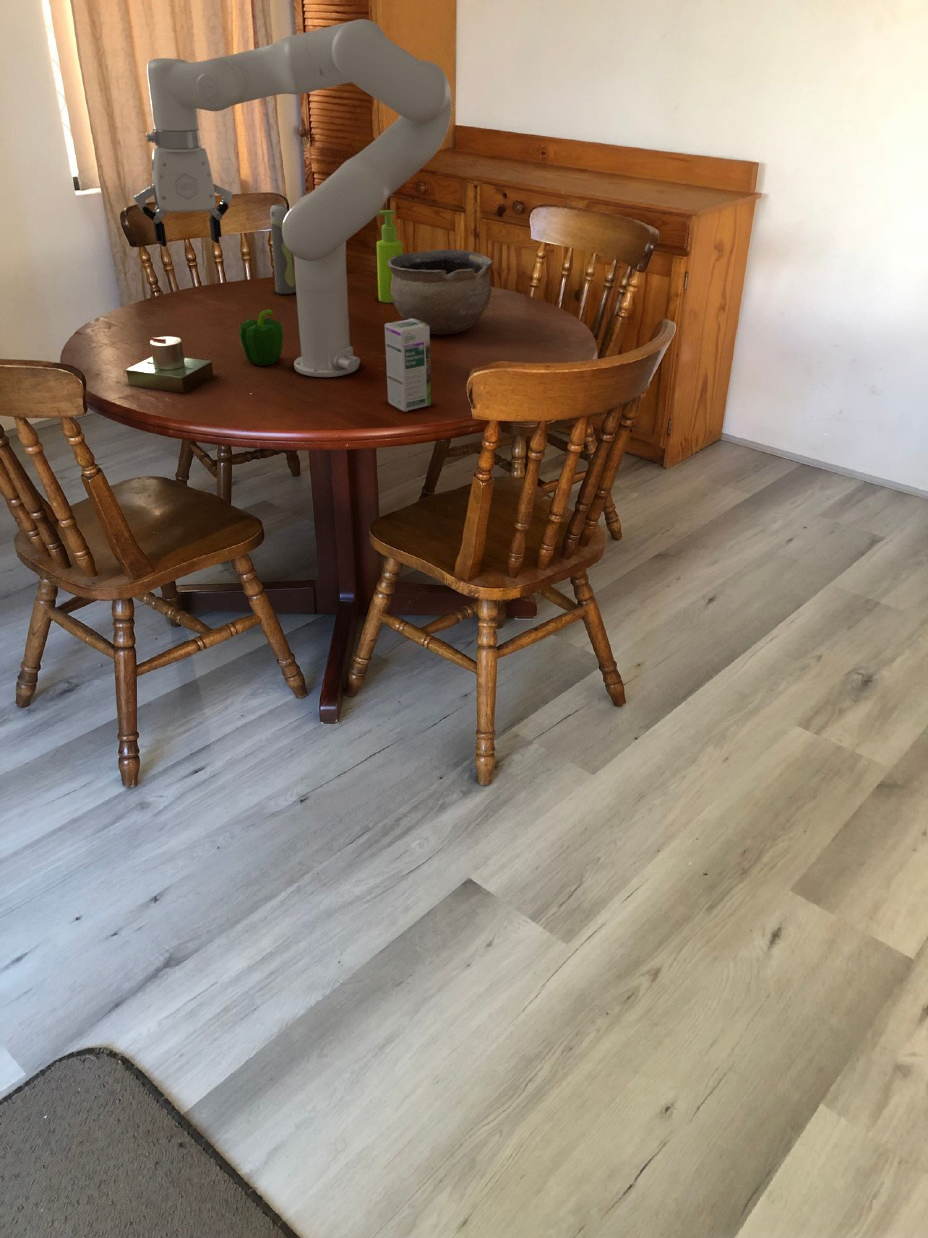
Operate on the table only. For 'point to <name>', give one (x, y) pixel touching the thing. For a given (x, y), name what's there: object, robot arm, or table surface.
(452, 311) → the ceramic bowl
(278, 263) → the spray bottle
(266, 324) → the bell pepper
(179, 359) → the dial
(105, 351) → the table surface
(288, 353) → the table surface
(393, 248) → the soap dispenser
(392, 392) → the syrup box
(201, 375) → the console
